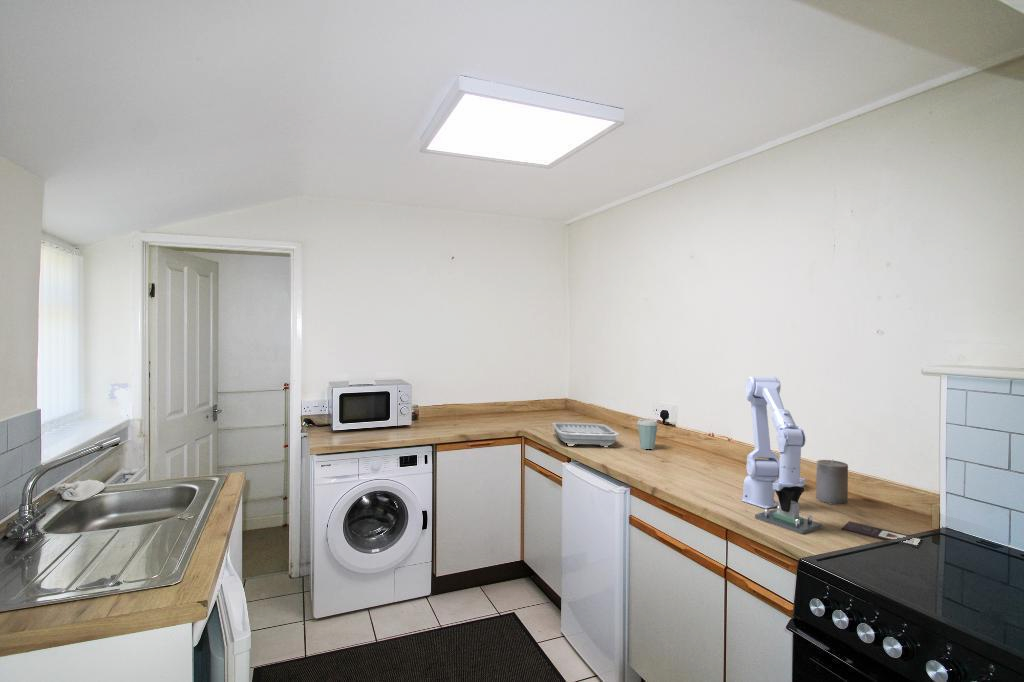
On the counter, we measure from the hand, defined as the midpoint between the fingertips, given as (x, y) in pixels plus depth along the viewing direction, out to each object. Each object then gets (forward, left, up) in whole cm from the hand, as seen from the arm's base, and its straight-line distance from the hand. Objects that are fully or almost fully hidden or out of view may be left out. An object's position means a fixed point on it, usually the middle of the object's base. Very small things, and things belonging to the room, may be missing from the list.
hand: (788, 510), depth 163 cm
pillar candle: (-6, +37, -4) cm, 38 cm away
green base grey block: (0, 0, -3) cm, 3 cm away
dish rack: (-125, +21, -4) cm, 126 cm away
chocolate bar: (+19, +16, -5) cm, 25 cm away
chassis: (0, 0, -4) cm, 4 cm away
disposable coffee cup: (-97, +39, -4) cm, 105 cm away
